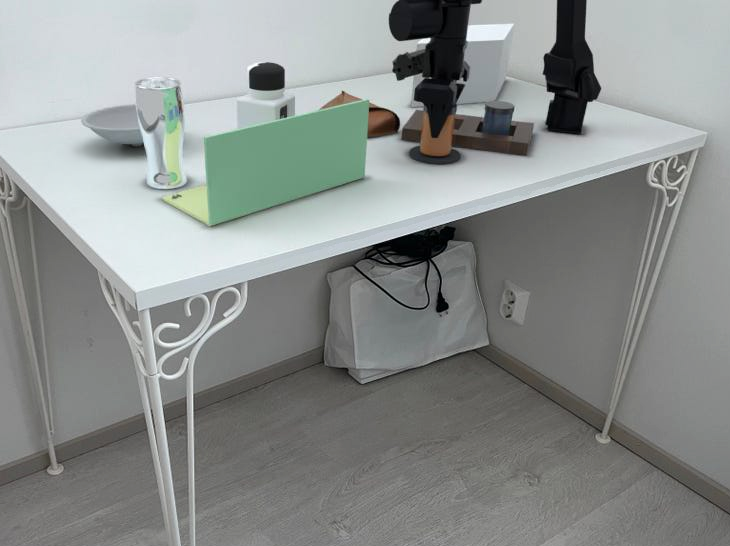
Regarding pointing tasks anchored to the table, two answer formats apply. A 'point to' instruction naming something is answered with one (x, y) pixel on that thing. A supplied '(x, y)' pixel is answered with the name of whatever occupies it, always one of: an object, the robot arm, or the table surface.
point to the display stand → (278, 162)
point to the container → (264, 96)
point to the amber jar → (444, 140)
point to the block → (480, 62)
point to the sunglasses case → (371, 116)
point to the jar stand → (476, 134)
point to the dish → (115, 124)
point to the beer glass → (162, 130)
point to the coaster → (424, 158)
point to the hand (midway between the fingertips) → (437, 132)
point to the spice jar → (498, 117)
